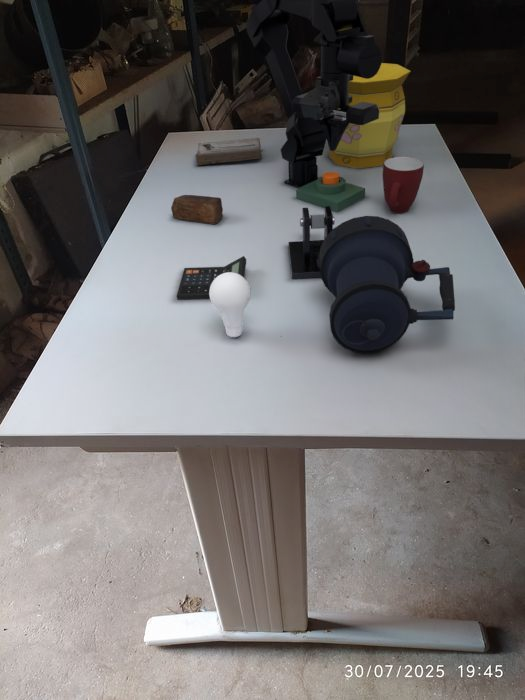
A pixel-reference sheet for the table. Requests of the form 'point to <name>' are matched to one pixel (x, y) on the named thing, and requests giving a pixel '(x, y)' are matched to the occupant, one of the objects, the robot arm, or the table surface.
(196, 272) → the calculator
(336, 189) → the button block
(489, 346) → the table surface
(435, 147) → the table surface
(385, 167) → the mug
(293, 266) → the bracket
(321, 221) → the lever
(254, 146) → the box
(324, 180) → the button
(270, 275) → the table surface
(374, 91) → the container
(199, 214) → the brick
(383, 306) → the flashlight
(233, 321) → the lightbulb
